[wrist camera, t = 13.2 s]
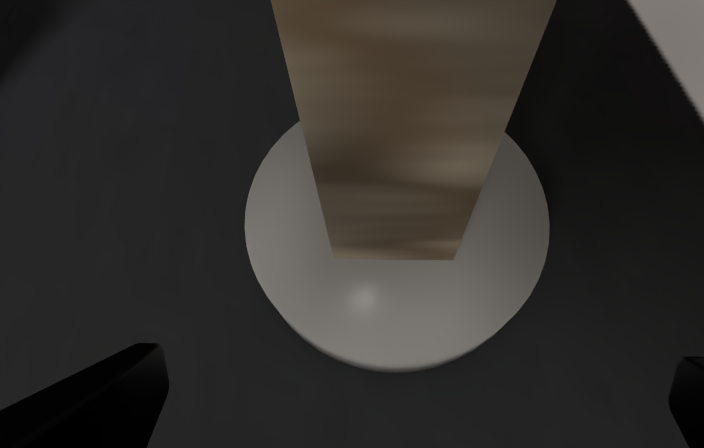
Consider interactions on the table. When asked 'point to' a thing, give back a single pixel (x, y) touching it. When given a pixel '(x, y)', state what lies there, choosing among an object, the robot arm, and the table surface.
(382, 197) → the maple block
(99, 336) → the table surface
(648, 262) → the table surface
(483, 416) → the table surface
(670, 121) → the table surface
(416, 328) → the white round disc
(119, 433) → the robot arm
